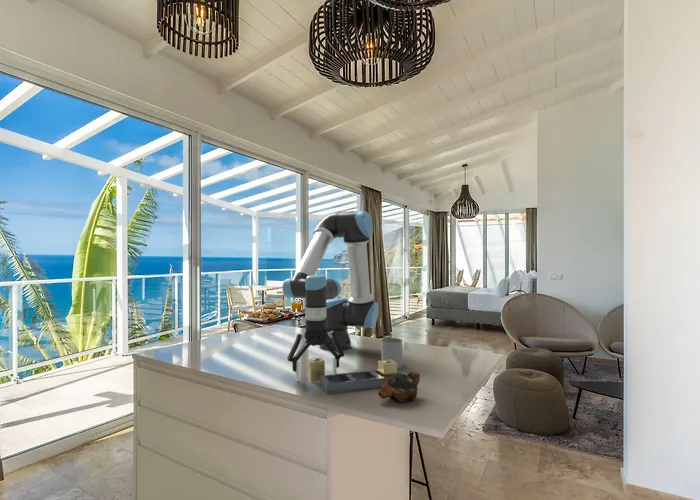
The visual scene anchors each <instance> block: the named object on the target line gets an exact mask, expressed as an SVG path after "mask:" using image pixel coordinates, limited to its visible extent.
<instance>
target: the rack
mask: <svg viewBox="0 0 700 500" xmlns="http://www.w3.org/2000/svg"><path fill="white" fill-rule="evenodd" d="M398 373H403V372H401V371H400V370H399V369H397V374H398ZM387 377H389V376H387ZM387 377H381V376H380V375H379V374H378V369H375V370H374V369H372V370H365V371H362V370H361V371H355V372H342V373H337V374H333V373H332V374H325V375H322V376H320V382H319V385H320V386H321V388H322V389H323V391H324V392H325V393H326V394H327V395H328V394H335V393H344V392H345V391H346V392H353V391H362V389H363V390H370V389H381V388H382V382H383V381H384V379H386V378H387Z"/></svg>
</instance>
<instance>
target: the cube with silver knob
mask: <svg viewBox="0 0 700 500" xmlns="http://www.w3.org/2000/svg"><path fill="white" fill-rule="evenodd" d="M325 363H326V361H325V359H324V358H322V357H312V358H307V380H308V381H309V382H310V383H317V382H318V383H320V382H319V381H320V376H322V375H326V372H325V371H326V370H325V369H326V367H325V366H326V364H325Z"/></svg>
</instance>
